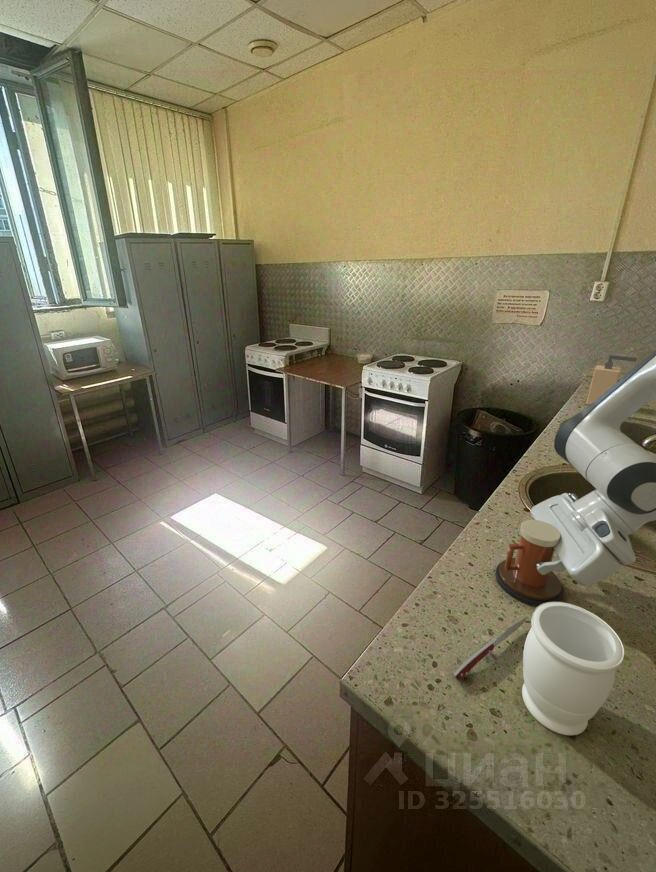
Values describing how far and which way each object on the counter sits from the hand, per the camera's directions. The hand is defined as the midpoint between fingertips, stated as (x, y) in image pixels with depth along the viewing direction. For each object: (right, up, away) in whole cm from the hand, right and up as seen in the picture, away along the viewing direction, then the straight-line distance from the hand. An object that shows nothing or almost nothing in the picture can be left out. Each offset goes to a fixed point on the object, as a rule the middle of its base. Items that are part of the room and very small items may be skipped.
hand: (530, 556), depth 78 cm
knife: (-13, -12, -11) cm, 21 cm away
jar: (-8, -15, -20) cm, 26 cm away
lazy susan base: (+1, -6, +2) cm, 7 cm away
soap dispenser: (+92, +33, +98) cm, 138 cm away
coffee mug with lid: (+1, -5, +2) cm, 6 cm away
